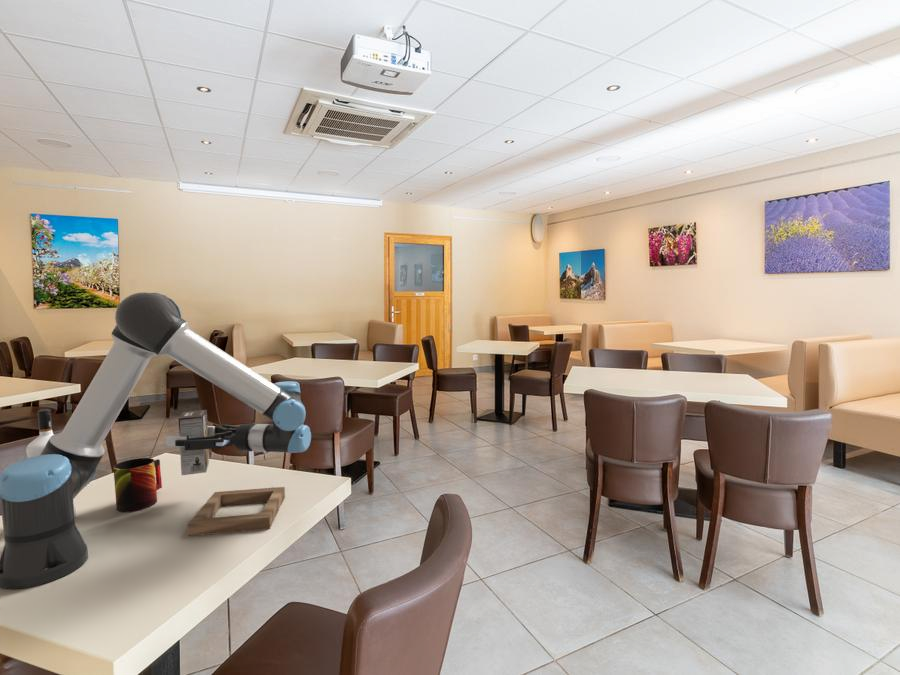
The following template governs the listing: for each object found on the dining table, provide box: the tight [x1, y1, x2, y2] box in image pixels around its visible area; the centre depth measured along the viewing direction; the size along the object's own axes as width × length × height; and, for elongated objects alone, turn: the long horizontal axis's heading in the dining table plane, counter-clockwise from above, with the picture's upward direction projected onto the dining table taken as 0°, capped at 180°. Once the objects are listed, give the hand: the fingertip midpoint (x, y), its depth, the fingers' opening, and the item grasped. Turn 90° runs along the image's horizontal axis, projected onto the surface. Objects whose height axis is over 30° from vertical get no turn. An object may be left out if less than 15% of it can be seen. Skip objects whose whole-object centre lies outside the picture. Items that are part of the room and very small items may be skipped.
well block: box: [187, 486, 286, 536], centre depth 130 cm, size 20×19×3 cm
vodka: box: [25, 408, 77, 517], centre depth 127 cm, size 9×9×30 cm
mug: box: [113, 457, 163, 513], centre depth 140 cm, size 10×14×12 cm
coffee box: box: [178, 409, 210, 476], centre depth 139 cm, size 9×6×16 cm
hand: (180, 435), depth 139 cm, fingers closed on coffee box, 11 cm apart
